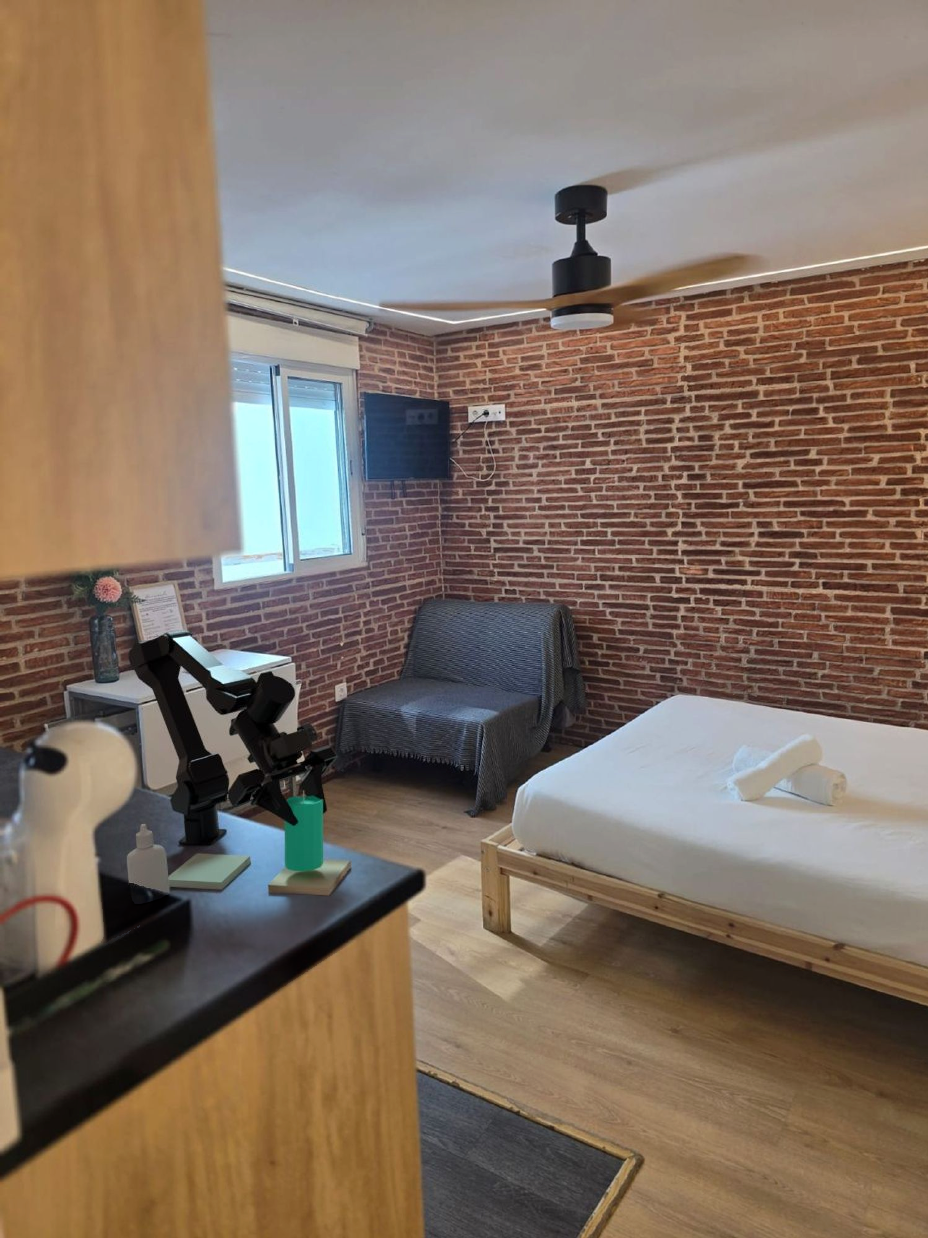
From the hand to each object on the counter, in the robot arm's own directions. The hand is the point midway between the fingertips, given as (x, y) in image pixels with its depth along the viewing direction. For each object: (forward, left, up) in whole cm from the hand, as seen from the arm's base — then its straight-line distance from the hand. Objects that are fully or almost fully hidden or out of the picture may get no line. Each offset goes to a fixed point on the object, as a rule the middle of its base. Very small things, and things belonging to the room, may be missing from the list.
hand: (310, 818), depth 130 cm
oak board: (-1, -1, -11) cm, 11 cm away
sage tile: (-1, -19, -11) cm, 22 cm away
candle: (0, -2, -8) cm, 8 cm away
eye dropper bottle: (+8, -24, -11) cm, 28 cm away
